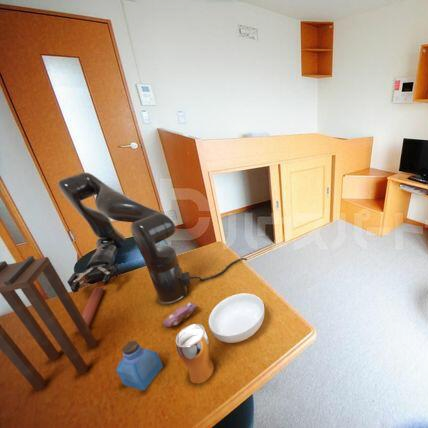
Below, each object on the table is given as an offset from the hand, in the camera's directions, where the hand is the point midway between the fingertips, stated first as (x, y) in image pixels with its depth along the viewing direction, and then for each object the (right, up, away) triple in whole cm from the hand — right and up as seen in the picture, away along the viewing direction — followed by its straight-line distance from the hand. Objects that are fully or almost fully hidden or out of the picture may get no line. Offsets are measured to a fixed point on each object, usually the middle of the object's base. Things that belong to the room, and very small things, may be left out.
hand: (89, 286), depth 85 cm
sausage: (+2, -8, -2) cm, 9 cm away
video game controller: (+36, -10, -4) cm, 37 cm away
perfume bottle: (+35, -18, -21) cm, 45 cm away
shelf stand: (+12, -16, -18) cm, 27 cm away
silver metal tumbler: (+50, -18, -20) cm, 57 cm away
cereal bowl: (+56, -12, -7) cm, 58 cm away
